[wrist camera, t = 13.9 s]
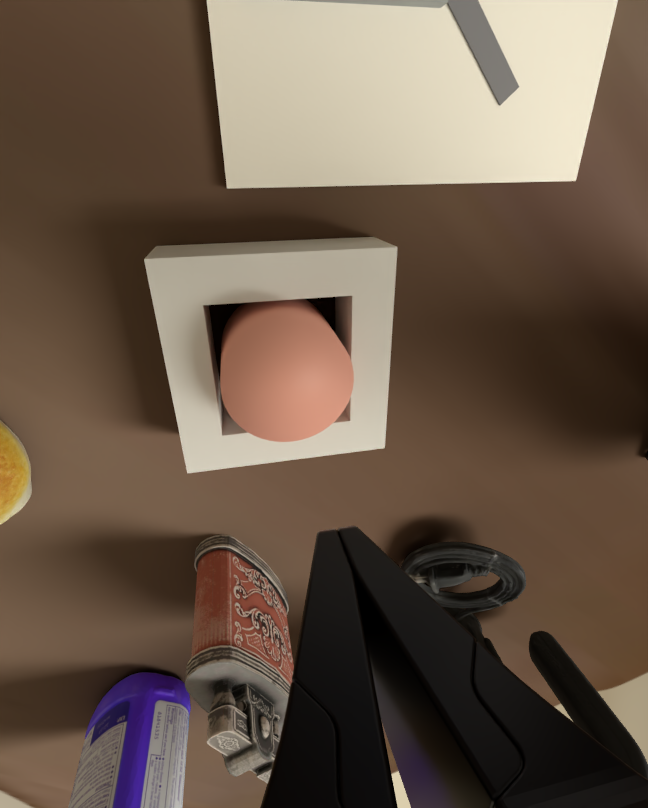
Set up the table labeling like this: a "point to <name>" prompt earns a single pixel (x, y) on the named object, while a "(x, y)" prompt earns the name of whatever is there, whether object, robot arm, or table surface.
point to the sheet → (405, 89)
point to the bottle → (135, 746)
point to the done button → (283, 370)
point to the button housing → (271, 281)
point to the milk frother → (565, 679)
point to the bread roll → (13, 474)
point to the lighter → (240, 654)
